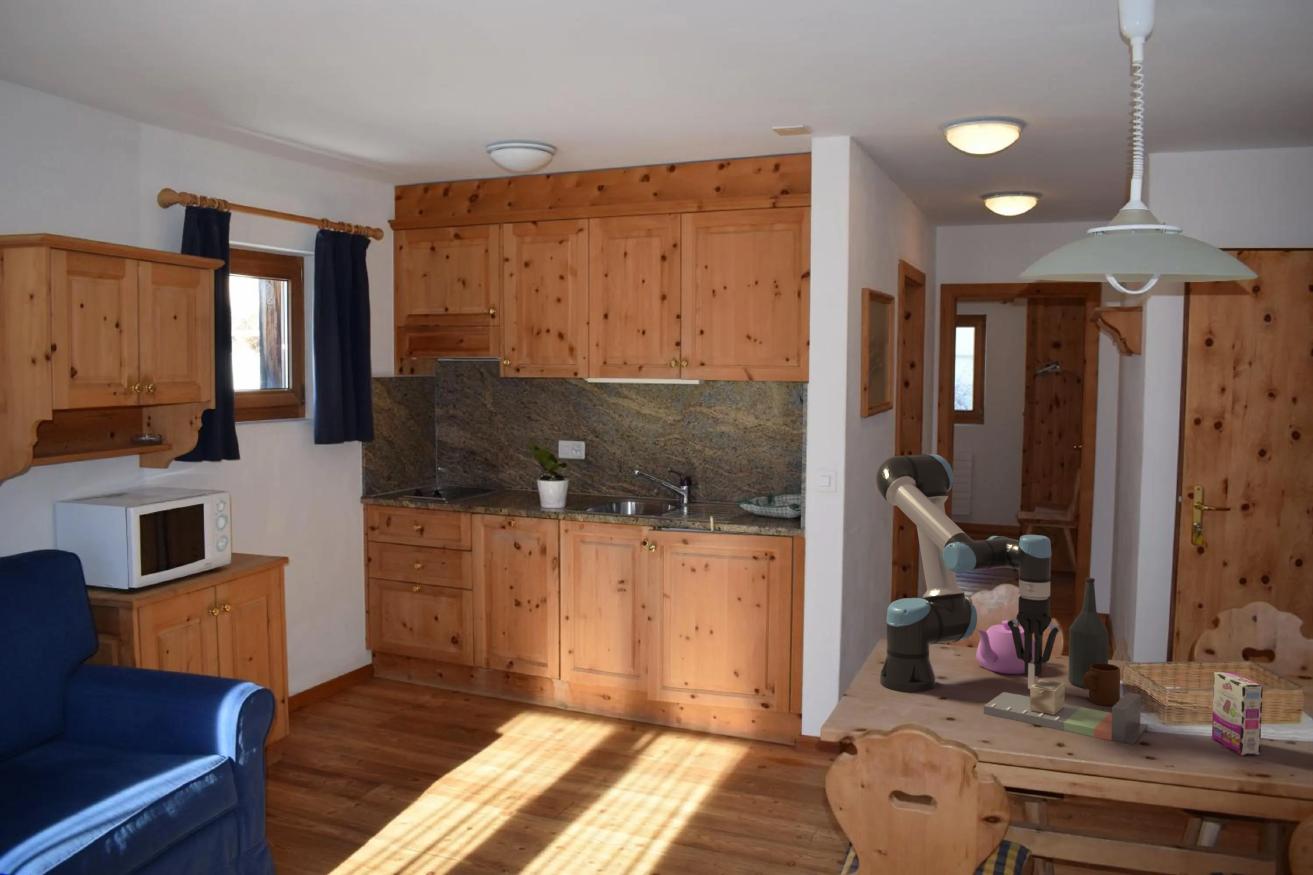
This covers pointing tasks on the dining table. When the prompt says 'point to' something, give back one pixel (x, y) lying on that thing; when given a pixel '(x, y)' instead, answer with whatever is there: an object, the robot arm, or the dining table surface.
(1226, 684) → the candy bar box
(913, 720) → the dining table surface
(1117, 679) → the mug
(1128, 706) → the grey block
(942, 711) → the dining table surface
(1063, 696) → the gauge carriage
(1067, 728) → the track
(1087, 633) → the bottle
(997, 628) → the teapot
